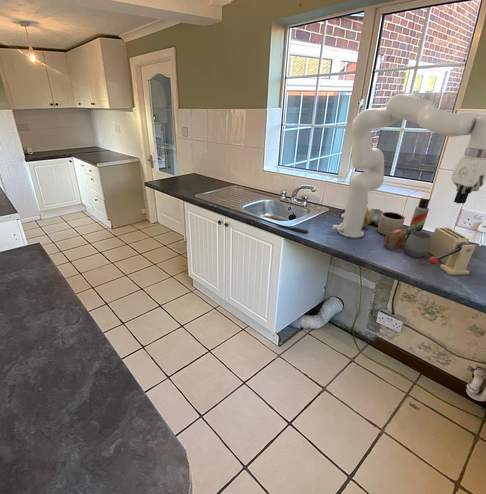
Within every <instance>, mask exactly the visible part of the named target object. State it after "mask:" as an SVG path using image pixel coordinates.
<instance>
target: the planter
mask: <svg viewBox="0 0 486 494" xmlns="http://www.w3.org/2000/svg"><path fill="white" fill-rule="evenodd" d="M405 220H406V216H405V215H404V214H401V213H398V212H393V211H383V213H382V215H381V218H380V222H379V225H377V232H378V233H379V234H381V235H384V236H386V235H387V234H388V233H389V232H391V231H395V230H398V229H403V227H404V224H405Z"/></svg>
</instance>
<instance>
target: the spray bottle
mask: <svg viewBox="0 0 486 494" xmlns="http://www.w3.org/2000/svg"><path fill="white" fill-rule="evenodd" d="M430 202H431V199H429V198H425V197H421V198H420V200H419V203H418V205H417V206H415V207H414V211H413V214H412V217H411V220H410V224H409V227H408V229H407V231H408V237H409V236H410V234H411V233H412V232H413V231H420V232H423V229H424V226H425V223H426V220H427V217H428V214H429V211H430V208H429V204H430Z"/></svg>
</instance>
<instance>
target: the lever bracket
mask: <svg viewBox="0 0 486 494" xmlns="http://www.w3.org/2000/svg"><path fill="white" fill-rule="evenodd" d="M464 242H466V243H467V242H468V241H466V240H456V241H455V243H454V245H453V248H452V250H454V249H456V248H458V245H459V244H462V243H464ZM468 243H469V242H468ZM476 247H477V246H476V244H469V245H463V246H462V248H461V251H459V252H456V253H454V254H452V255H449V258H448V260H447V263H446V264H439V268H440V269H442V270H443V271H444V272H446V273H447V274H448V275H470V273H471V271H470V270H468V268H467V266H468V265H469V263H470V260H471V258H472V255H473V254H474V251H475V248H476ZM452 250H451V251H452Z"/></svg>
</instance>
